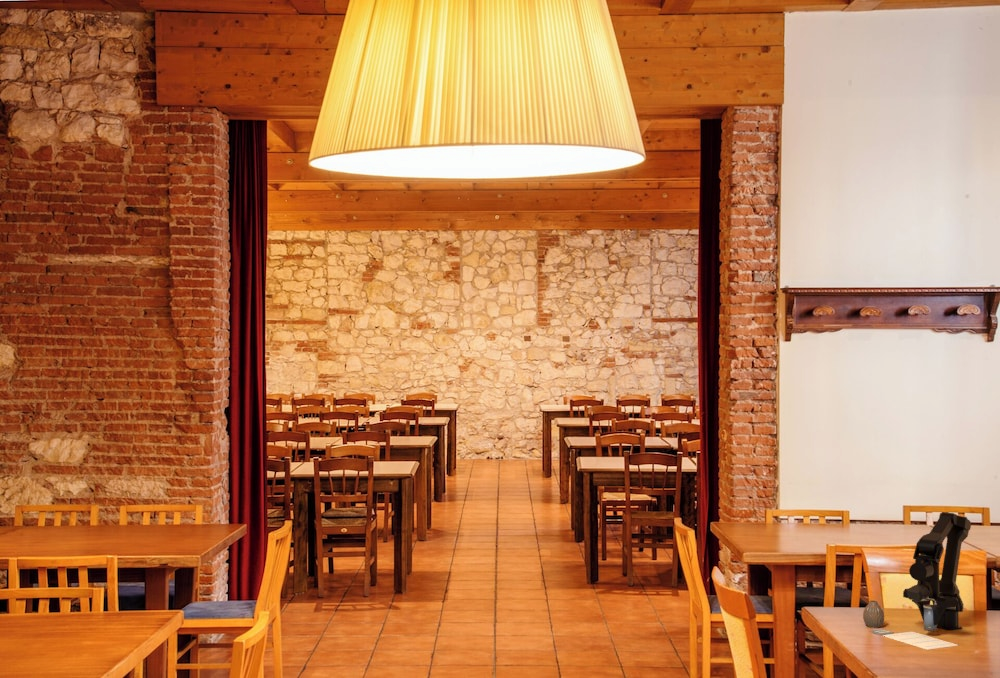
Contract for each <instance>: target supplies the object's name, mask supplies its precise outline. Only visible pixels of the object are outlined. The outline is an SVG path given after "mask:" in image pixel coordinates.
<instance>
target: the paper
mask: <svg viewBox="0 0 1000 678" xmlns="http://www.w3.org/2000/svg"><path fill="white" fill-rule="evenodd" d="M884 636H885V637H884ZM882 637H884V638H888V639H891V640H895V641H898V642H901V643H904V644H908V645H911V646H914V647H917V648H920V649H923V650H928V651H929V650H935V649H944V648H951V647H953V648H954V647H958V646H959V645H958V643H957V644H955V643H953V642H950V641H949V642H948V641H945V640H942V639H939V638H936V637H931V636H929V635H925V634H923V633H918V632H915V631H906V632H899V633H894V634H886V635H882Z"/></svg>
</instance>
